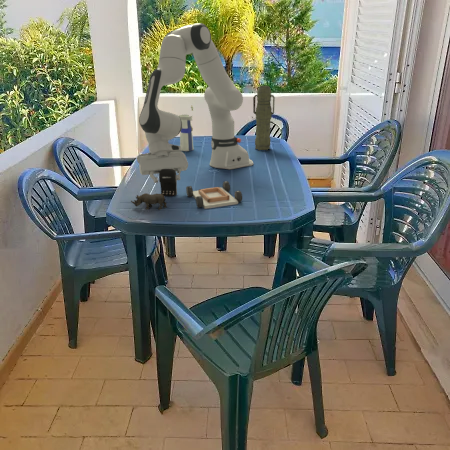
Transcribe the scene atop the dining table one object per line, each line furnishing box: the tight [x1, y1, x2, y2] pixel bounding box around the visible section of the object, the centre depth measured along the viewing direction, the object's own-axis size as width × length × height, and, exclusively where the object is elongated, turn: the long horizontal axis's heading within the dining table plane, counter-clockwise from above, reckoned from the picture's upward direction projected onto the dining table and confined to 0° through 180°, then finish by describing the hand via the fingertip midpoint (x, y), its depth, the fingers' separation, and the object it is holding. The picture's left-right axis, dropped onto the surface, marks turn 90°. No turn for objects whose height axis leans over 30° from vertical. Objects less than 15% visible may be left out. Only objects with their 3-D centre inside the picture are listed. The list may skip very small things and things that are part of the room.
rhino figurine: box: [130, 192, 168, 210], centre depth 170 cm, size 4×14×6 cm, turn 88°
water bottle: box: [178, 106, 194, 152], centre depth 250 cm, size 8×8×25 cm
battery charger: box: [158, 168, 178, 197], centre depth 181 cm, size 7×4×11 cm, turn 85°
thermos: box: [252, 85, 276, 151], centre depth 248 cm, size 9×12×35 cm
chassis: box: [185, 180, 243, 210], centre depth 179 cm, size 18×18×4 cm
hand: (167, 180), depth 181 cm, fingers open, 8 cm apart
